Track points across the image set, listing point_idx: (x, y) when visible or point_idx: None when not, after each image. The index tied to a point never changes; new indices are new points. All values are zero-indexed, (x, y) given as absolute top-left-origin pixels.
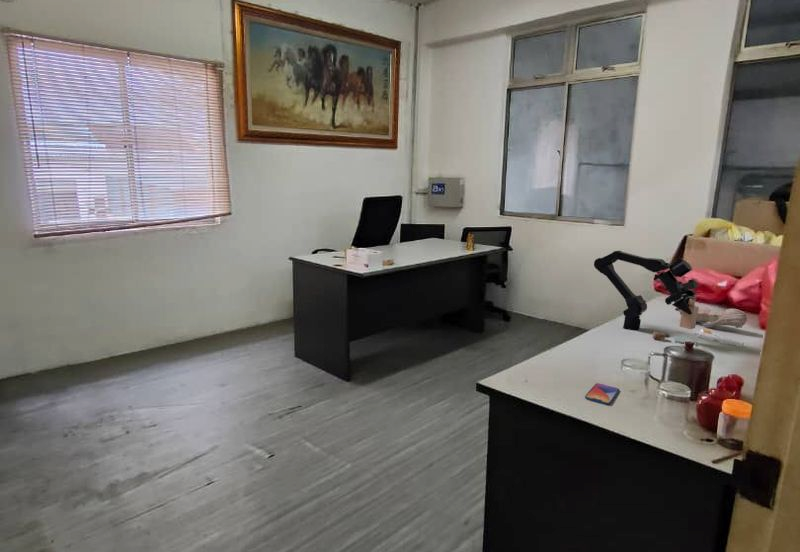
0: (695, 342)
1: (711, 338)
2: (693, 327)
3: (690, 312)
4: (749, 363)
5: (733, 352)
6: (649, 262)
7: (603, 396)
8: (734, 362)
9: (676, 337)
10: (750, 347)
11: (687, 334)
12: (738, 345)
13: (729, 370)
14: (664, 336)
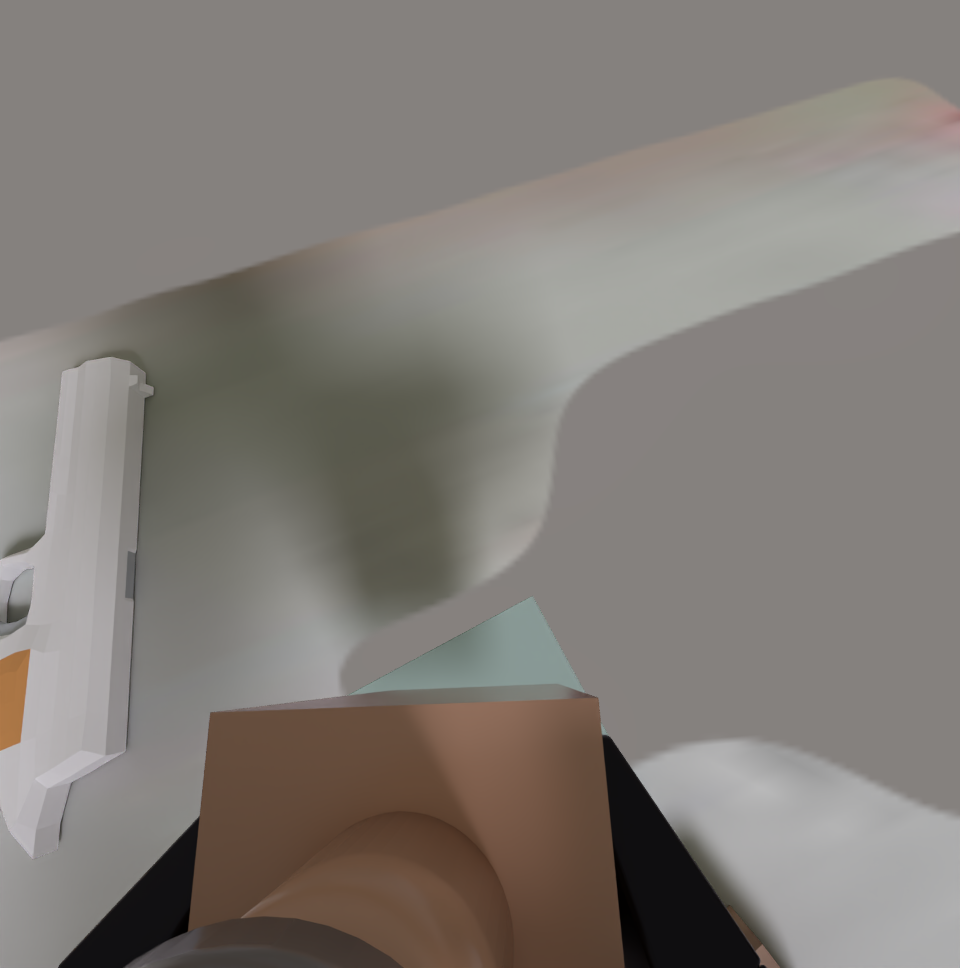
0: (470, 633)
1: (122, 619)
2: (453, 688)
3: (626, 767)
4: (586, 176)
5: (394, 340)
6: None
7: None
8: (683, 228)
9: None
10: (91, 337)
11: (118, 891)
12: (145, 391)
13: (933, 167)
14: (761, 945)
